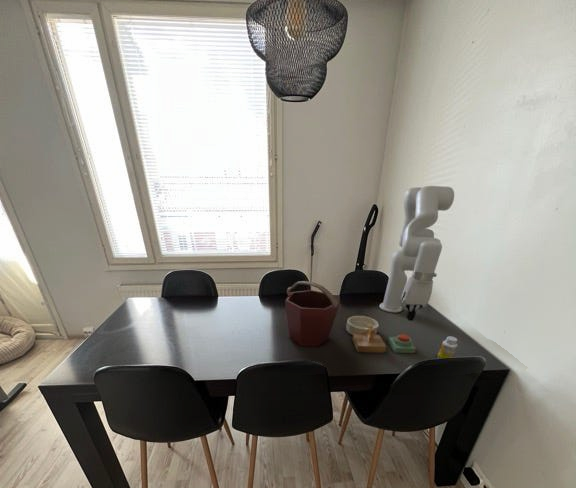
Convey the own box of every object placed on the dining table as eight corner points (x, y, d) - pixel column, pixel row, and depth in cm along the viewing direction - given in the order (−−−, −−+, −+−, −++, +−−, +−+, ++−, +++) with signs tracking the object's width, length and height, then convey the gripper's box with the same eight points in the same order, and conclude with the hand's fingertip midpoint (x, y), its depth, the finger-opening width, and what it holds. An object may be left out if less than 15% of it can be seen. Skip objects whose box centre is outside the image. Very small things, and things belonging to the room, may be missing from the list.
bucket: (274, 332, 138) (275, 280, 124) (309, 321, 149) (314, 272, 135) (308, 355, 122) (313, 298, 108) (344, 341, 134) (354, 288, 120)
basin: (343, 324, 148) (345, 315, 146) (371, 325, 149) (374, 316, 146) (349, 338, 136) (350, 328, 133) (379, 339, 137) (382, 329, 134)
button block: (387, 341, 136) (389, 333, 133) (406, 341, 136) (409, 334, 134) (394, 352, 127) (396, 344, 125) (414, 352, 128) (417, 345, 125)
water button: (396, 337, 131) (397, 333, 130) (406, 337, 132) (407, 334, 131) (399, 342, 128) (400, 338, 127) (409, 342, 128) (410, 338, 127)
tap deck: (351, 337, 137) (352, 331, 136) (376, 337, 138) (378, 331, 136) (357, 352, 126) (358, 345, 125) (384, 352, 127) (386, 346, 125)
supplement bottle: (438, 354, 127) (447, 333, 121) (452, 359, 124) (461, 338, 119) (434, 359, 124) (443, 338, 118) (448, 364, 121) (457, 343, 115)
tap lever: (364, 333, 134) (366, 323, 131) (368, 334, 134) (370, 323, 131) (368, 341, 128) (370, 331, 125) (372, 342, 128) (374, 331, 125)
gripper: (436, 273, 117) (423, 316, 127) (400, 272, 116) (389, 315, 127) (445, 279, 111) (430, 323, 121) (407, 278, 110) (394, 322, 120)
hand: (409, 319), depth 124 cm, fingers closed
